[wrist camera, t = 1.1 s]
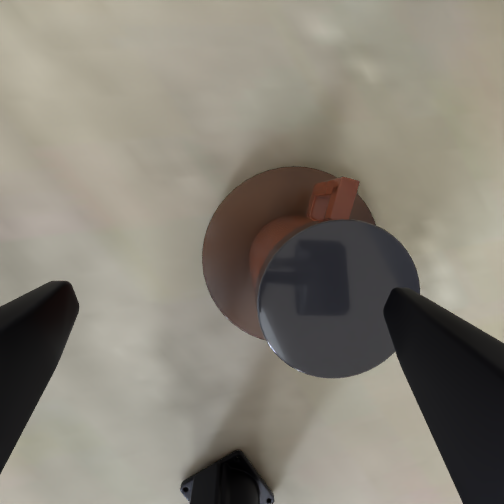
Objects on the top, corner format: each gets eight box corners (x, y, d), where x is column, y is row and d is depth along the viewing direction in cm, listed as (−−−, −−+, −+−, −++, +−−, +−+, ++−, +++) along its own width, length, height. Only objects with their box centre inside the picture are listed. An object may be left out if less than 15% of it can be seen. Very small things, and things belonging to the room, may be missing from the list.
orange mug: (325, 313, 22) (390, 391, 12) (237, 294, 21) (239, 363, 12) (359, 199, 20) (460, 193, 11) (266, 174, 19) (294, 147, 10)
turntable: (401, 283, 23) (408, 286, 22) (260, 366, 23) (262, 373, 22) (324, 132, 20) (328, 129, 19) (168, 229, 21) (165, 230, 20)
